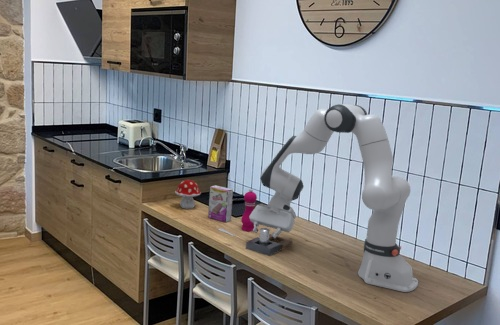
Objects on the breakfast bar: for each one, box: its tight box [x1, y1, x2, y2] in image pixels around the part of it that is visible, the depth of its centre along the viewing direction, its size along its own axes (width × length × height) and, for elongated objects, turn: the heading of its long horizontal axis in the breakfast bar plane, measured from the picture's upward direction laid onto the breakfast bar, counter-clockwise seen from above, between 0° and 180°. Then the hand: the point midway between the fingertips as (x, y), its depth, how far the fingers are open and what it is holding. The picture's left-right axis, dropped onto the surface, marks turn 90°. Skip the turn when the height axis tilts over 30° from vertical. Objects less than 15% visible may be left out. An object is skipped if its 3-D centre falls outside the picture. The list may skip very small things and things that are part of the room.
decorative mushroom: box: [174, 179, 202, 210], centre depth 272 cm, size 14×14×15 cm
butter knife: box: [217, 228, 236, 237], centre depth 233 cm, size 1×24×3 cm
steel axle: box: [259, 227, 270, 246], centre depth 218 cm, size 4×4×9 cm
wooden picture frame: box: [269, 233, 293, 251], centre depth 227 cm, size 12×8×2 cm
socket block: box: [245, 236, 281, 257], centre depth 219 cm, size 12×8×3 cm
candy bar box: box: [207, 184, 234, 223], centre depth 255 cm, size 11×5×16 cm, turn 58°
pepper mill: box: [240, 188, 258, 232], centre depth 242 cm, size 7×7×20 cm
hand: (263, 234), depth 217 cm, fingers open, 8 cm apart
